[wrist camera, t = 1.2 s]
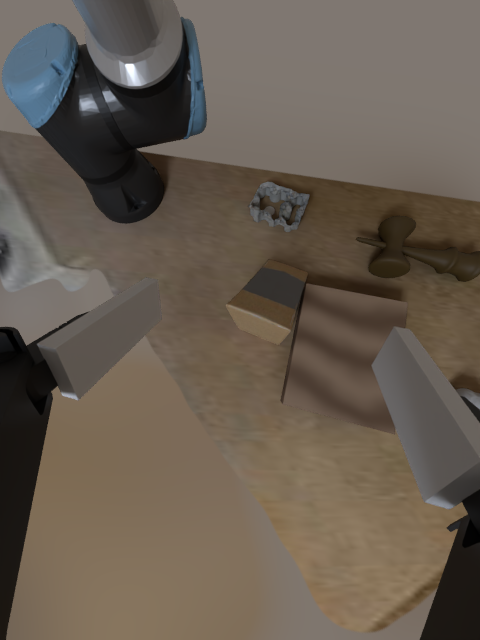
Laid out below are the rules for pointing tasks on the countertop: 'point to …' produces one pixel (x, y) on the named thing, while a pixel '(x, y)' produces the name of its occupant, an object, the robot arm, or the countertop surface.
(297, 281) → the sandwich container
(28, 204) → the countertop surface
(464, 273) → the kendama
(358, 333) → the walnut shelf
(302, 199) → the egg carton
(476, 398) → the garlic
